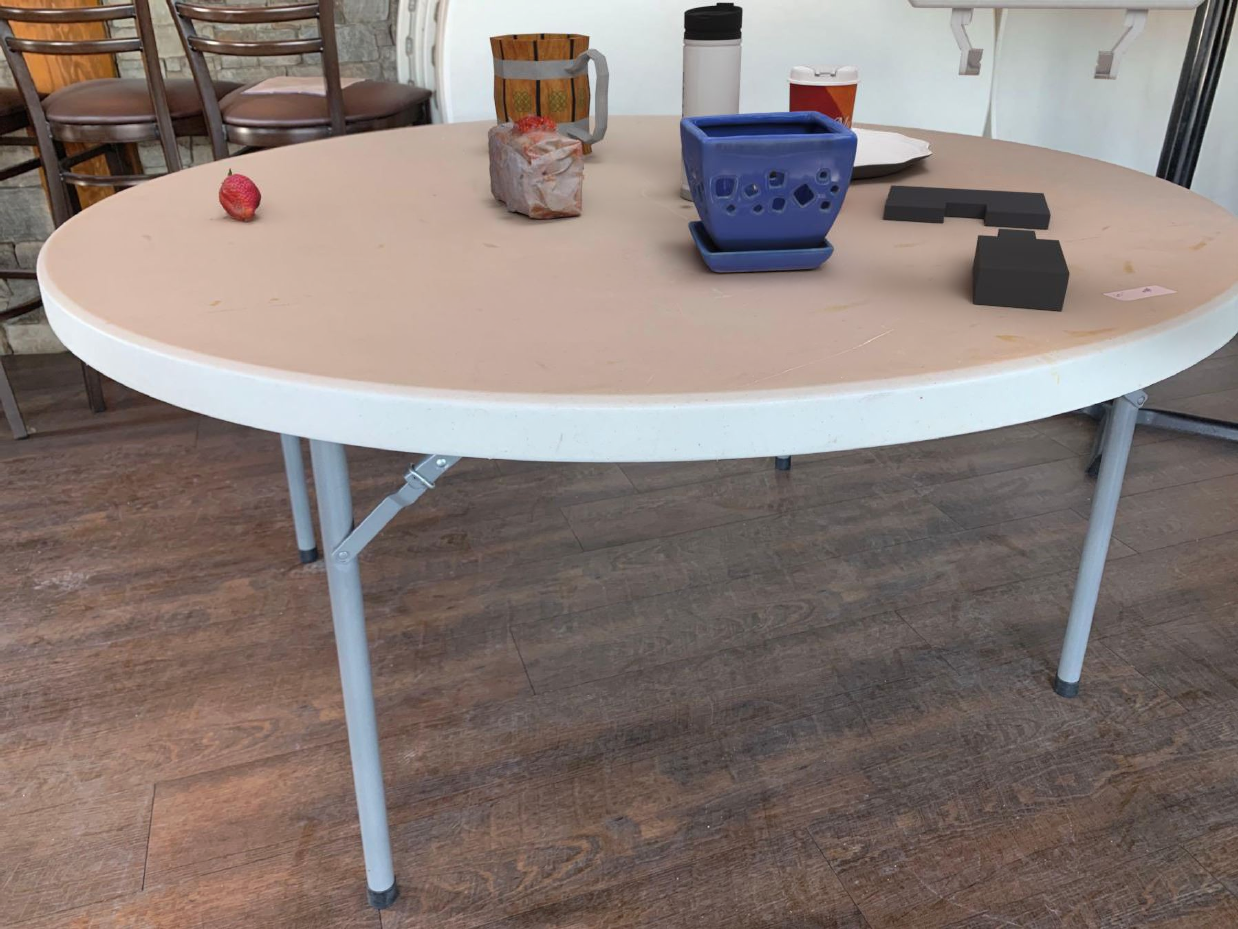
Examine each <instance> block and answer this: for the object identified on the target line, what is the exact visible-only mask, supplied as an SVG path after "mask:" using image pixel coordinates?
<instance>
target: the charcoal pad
mask: <svg viewBox="0 0 1238 929" xmlns="http://www.w3.org/2000/svg"><path fill="white" fill-rule="evenodd" d="M1051 216H1052V214H1051V211H1050V208H1049V205H1048V202H1047V199H1046V195H1045V193H1044V192H1031V191H1030V192H1027V191H1012V190H1009V191H1008V190H993V189H992V190H988V189H973V188H972V189H971V188H955V187H933V186H914V185H913V186H912V185H895V184H893V185H890V187H889V190H888V194H887V197H886V201H885V204H884V211H883V218H882V219H883V220H887V221H904V222H917V223H918V222H919V223H921V222H922V223H937V224H943V223H944V221H945V217H953V218H970V219H983V223H984V224H983V225H984V226H985V227H1002V228H1016V229H1017V228H1019V229H1034V230H1049V226H1050V221H1051Z"/></svg>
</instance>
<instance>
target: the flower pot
mask: <svg viewBox="0 0 1238 929" xmlns="http://www.w3.org/2000/svg"><path fill="white" fill-rule="evenodd" d="M679 135H680V145H681V147H682V154H683V161H684V166H685V171H686V177H687V181H688V185H689V188H690V192H691V195H692V198H693V201H692V202H693V204H694V206H695V209H696V213H697V214H698V217H699V219H700V220H692V221H691V220H690V221H689V222H688V224H687V226H688V230H689V233H690V235H691V237H692V239H693V241H694V243H695V245H696V247H697V249H698V251H699V254H700V255H701V258H702V259H703V261H704V263H705V264H706V266H707V267H708V268H709V269H710V270H711V271H712V272H714V273H744V272H745V273H746V272H772V271H794V270H796V271H797V270H810V269H811V270H812V269H816V268H818V267H820V266H822V265H823V264H824V263H825V262H826V261H827V260H829V259H830V258H831V256H832V254H833V253H834V250H835V248H834V245H833V244H832V243H831V242H830V241H829V240H828V239H827V238H826V237H827V235H828V234H829V233H830V230H831V229H832V227H833V225H834V223H835V222H836V219H837V217H838V216H839V213H840V212H841V209H842V207H843V204H844V201H845V198H846V195H847V193H848V191H849V186H850V183H851V180H852V179H851V175H852V171H853V166H854V162H855V156H856V150H857V143H858V138H857V135H856V134H855V133H854V132H853V131H852V130H851V129H849V128H848V127H846V126H844V125H843V124H841V123H839V122H837V121H835V120H833V119H831V118H830V117H828V116H826V115H824V114H822V113H819V112H817V111H798V112H789V111H777V112H776V111H775V112H774V111H773V112H751V113H739V114H730V115H714V116H701V117H689V118H683V119H682V118H681V119H680V121H679ZM772 171H775V173H776V176H775V177H771V176H770V174H771V172H772Z"/></svg>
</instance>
